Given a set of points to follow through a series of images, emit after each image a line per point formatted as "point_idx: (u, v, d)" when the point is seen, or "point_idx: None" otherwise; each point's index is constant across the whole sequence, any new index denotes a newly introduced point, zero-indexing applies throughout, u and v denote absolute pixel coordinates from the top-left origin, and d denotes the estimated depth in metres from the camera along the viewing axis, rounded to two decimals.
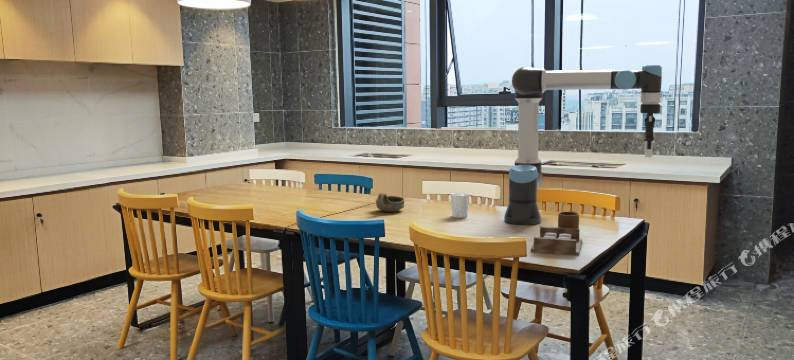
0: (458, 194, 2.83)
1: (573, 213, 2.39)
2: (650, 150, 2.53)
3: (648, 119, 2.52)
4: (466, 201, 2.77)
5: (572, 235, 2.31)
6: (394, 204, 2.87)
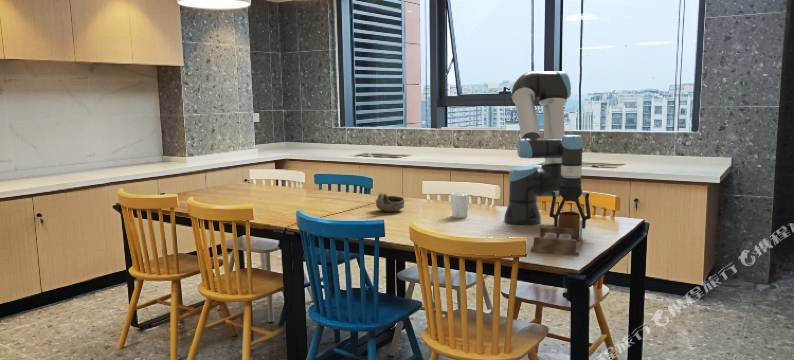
0: (458, 194, 2.83)
1: (574, 213, 2.39)
2: None
3: None
4: (466, 201, 2.77)
5: (572, 235, 2.31)
6: (394, 204, 2.87)
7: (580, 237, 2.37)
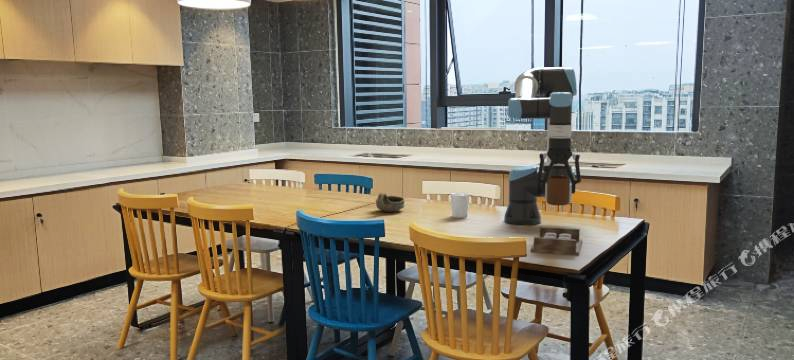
0: (458, 194, 2.83)
1: (563, 177, 2.22)
2: None
3: None
4: (466, 201, 2.77)
5: (572, 235, 2.31)
6: (394, 204, 2.87)
7: None
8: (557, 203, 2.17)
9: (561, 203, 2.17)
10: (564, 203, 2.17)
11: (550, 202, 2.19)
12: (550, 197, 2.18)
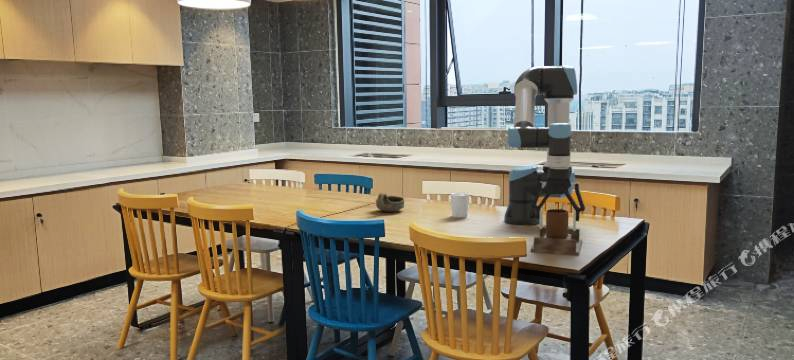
0: (458, 194, 2.83)
1: (562, 211, 2.24)
2: (539, 220, 2.25)
3: None
4: (466, 201, 2.77)
5: (572, 235, 2.31)
6: (394, 204, 2.87)
7: (573, 230, 2.21)
8: (556, 237, 2.19)
9: (560, 237, 2.19)
10: (563, 237, 2.19)
11: (549, 236, 2.20)
12: (549, 231, 2.20)
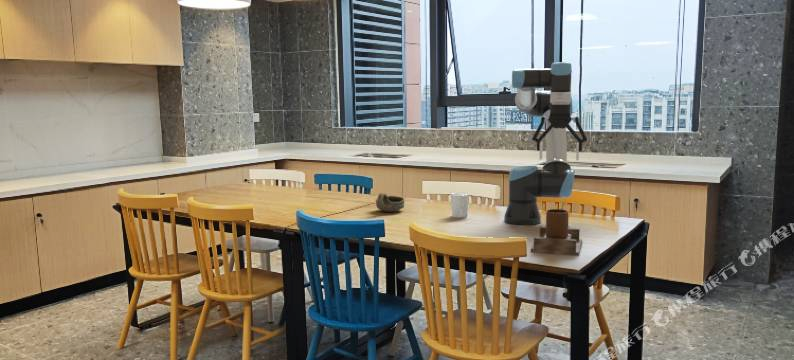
0: (458, 194, 2.83)
1: (562, 211, 2.24)
2: None
3: None
4: (466, 201, 2.77)
5: (572, 235, 2.31)
6: (394, 204, 2.87)
7: None
8: (556, 237, 2.19)
9: (560, 237, 2.19)
10: (563, 237, 2.19)
11: (549, 236, 2.20)
12: (549, 231, 2.20)
